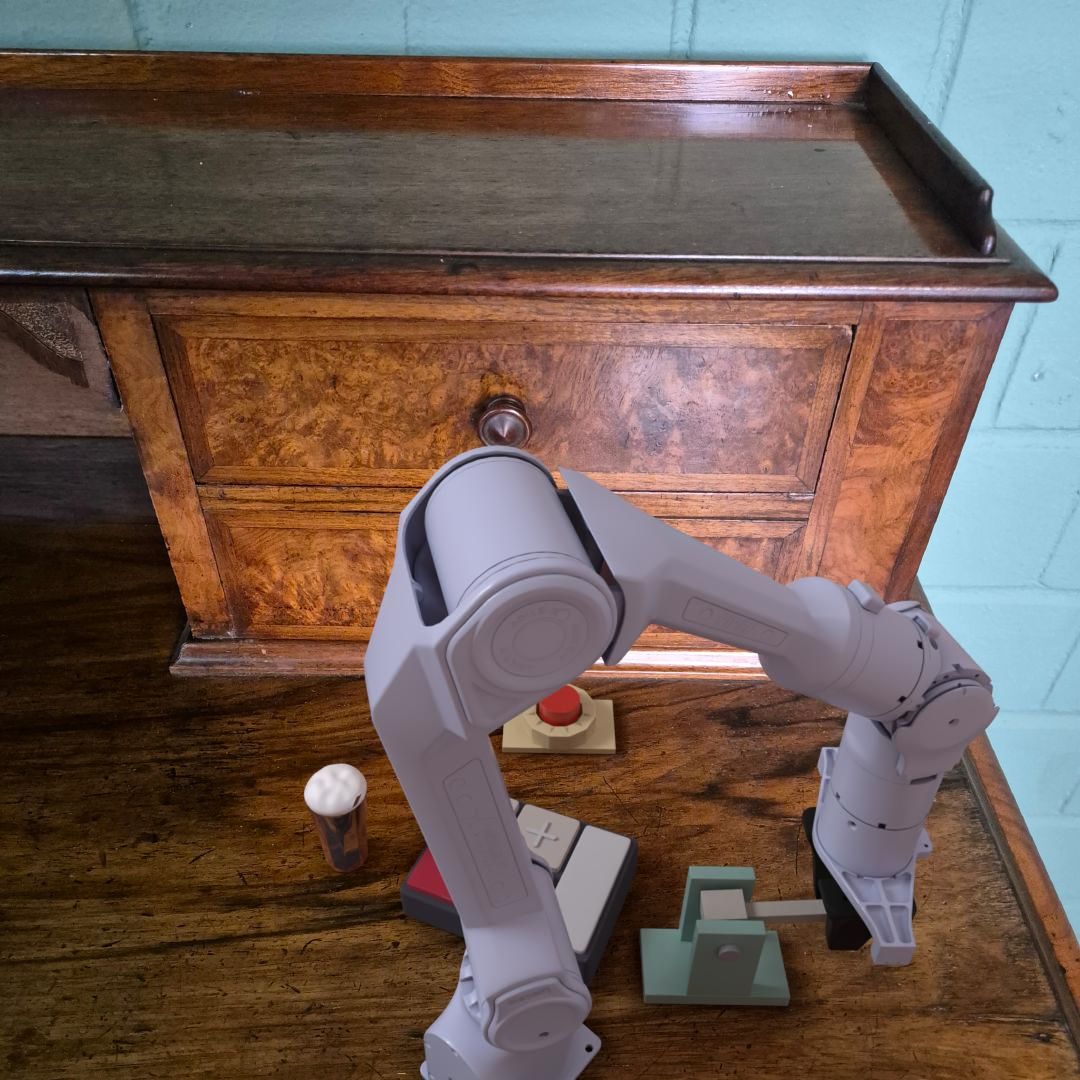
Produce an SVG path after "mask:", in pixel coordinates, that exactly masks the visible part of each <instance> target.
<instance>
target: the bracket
mask: <svg viewBox="0 0 1080 1080" xmlns="http://www.w3.org/2000/svg"><path fill="white" fill-rule="evenodd" d="M756 880H757V877H756V873H755V868H754V867H753V866H709V865H706V866H705V865H690V866H689V867H688V871H687V878H686V883H685V889H684V895H683V899H682V900H683V901H682V905H681V913H680V918H679V925H678V928H639V936H638V943H639V954H640V955H639V957H640V970H641V981H642V994H643V995H642V996H643V1003H644V1004H656V1005H657V1004H662V1005H712V1006H713V1005H715V1006H716V1005H718V1006H768V1007H769V1006H773V1007H777V1006H778V1007H788V1005H789V1002H790V1000H791V993H790V989H789V983H788V978H787V972H786V969H785V964H784V957H783V954H782V949H781V944H780V940H779V934H778V931H777V930H766V924H764V921H742V920H701V912H700V902H701V891H708V890H733V889H742V890H743V895H744V901H745V903H746V902H752V896H753V892H754V889H755V888H754V887H755V884H756Z"/></svg>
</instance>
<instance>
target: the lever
mask: <svg viewBox="0 0 1080 1080" xmlns="http://www.w3.org/2000/svg"><path fill="white" fill-rule="evenodd" d="M700 912H701V920H742V921H764V924H765V925H780V924H781V925H783V924H805V923H806V924H807V923H808V924H809V923H826V918H827V913H826V911H825V908H824V905H823V901H822V899H821V900H816V899H798V900H775V901H774V900H773V901H750V902H746V903H745V901H744V895H743V890H742V889H733V890H708V891H701V902H700Z"/></svg>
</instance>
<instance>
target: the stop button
mask: <svg viewBox="0 0 1080 1080" xmlns="http://www.w3.org/2000/svg"><path fill="white" fill-rule="evenodd" d="M579 708H580V696H579V694H578V692H577V691H576V690H575V689H574V688H572V687H571V686H568V685H565V686H564V687H562V688H561V689H559V690H558V691H556V692H554V693H553V694H551V695H550V696H548V697H546V698H545V699H543V700H542V701H540V702H539V714H540V716H541V718H542V720H543V721H544V722H546V723H547V724H549V725H552V726H561V727H563V726H568V725H570V724H572V723H574V722H575V721H576V720H577V718H578V716H579Z"/></svg>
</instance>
